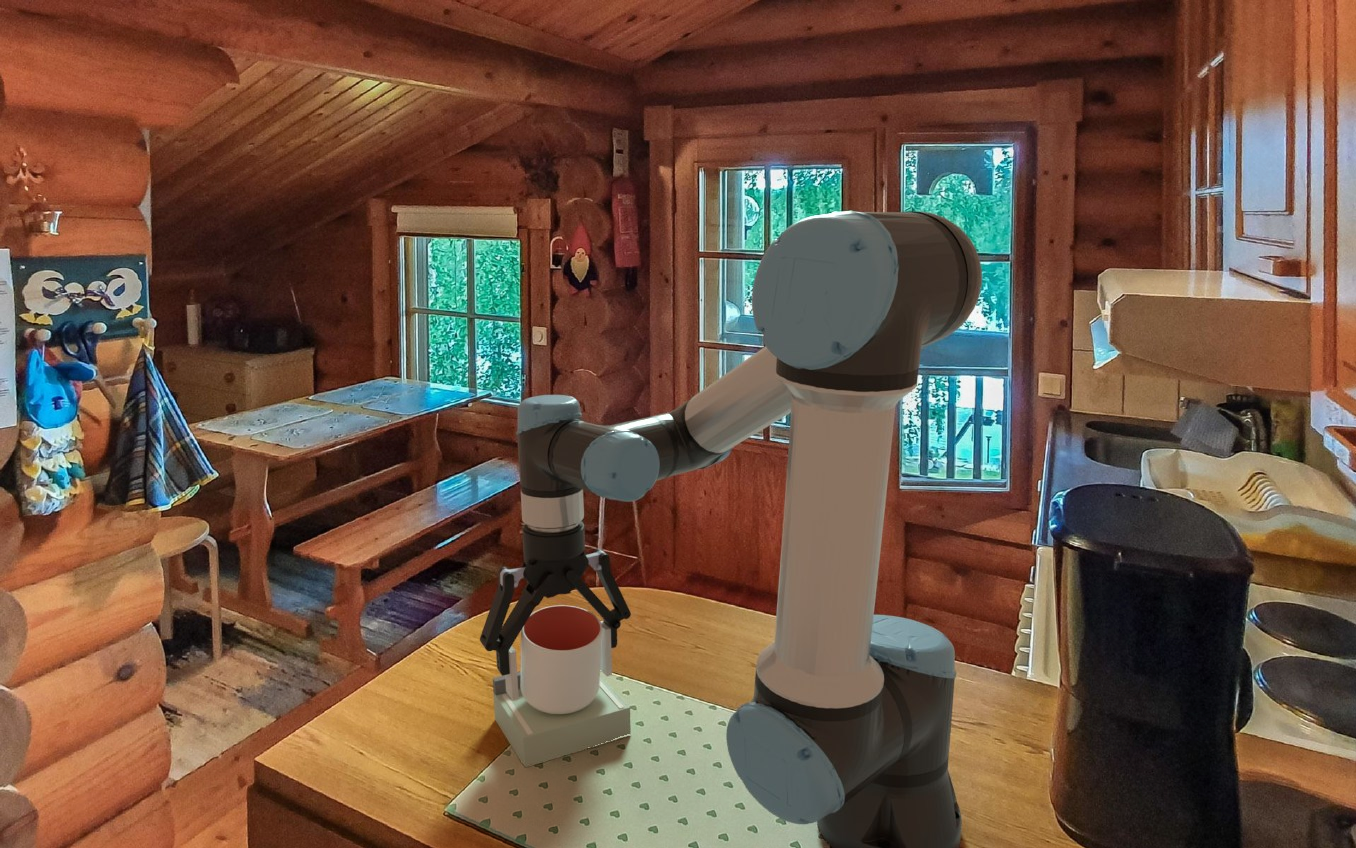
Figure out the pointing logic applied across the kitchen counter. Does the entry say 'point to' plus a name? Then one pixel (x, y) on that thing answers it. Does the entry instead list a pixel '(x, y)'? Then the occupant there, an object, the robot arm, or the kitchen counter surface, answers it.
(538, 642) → the cup
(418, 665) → the kitchen counter surface
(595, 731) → the dock
